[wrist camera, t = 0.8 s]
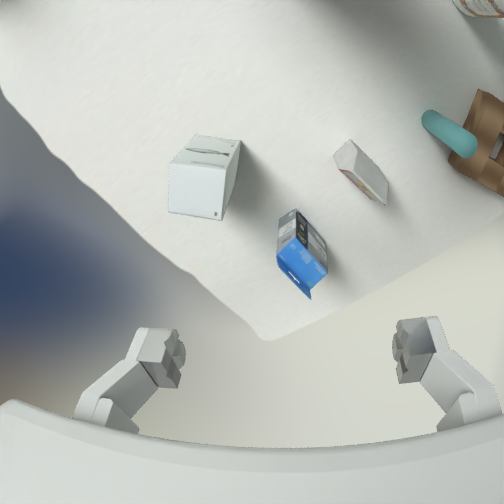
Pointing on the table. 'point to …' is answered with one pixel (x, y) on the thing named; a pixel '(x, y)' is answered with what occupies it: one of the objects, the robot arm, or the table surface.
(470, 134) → the peg
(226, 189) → the supplement box
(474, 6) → the bath foam
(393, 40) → the table surface
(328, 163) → the table surface
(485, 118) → the socket block
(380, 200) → the white carton
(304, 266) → the label tape box
